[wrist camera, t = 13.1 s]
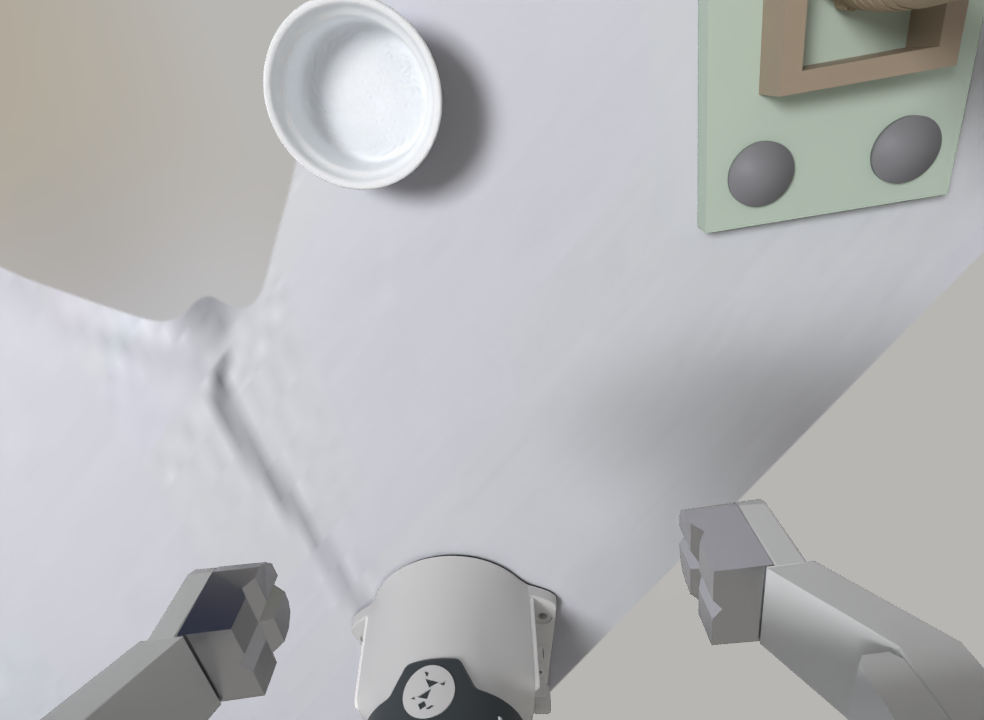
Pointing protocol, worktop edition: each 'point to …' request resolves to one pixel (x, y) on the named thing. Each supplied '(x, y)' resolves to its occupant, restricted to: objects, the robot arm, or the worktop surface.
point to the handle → (886, 5)
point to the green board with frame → (827, 106)
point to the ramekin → (353, 92)
